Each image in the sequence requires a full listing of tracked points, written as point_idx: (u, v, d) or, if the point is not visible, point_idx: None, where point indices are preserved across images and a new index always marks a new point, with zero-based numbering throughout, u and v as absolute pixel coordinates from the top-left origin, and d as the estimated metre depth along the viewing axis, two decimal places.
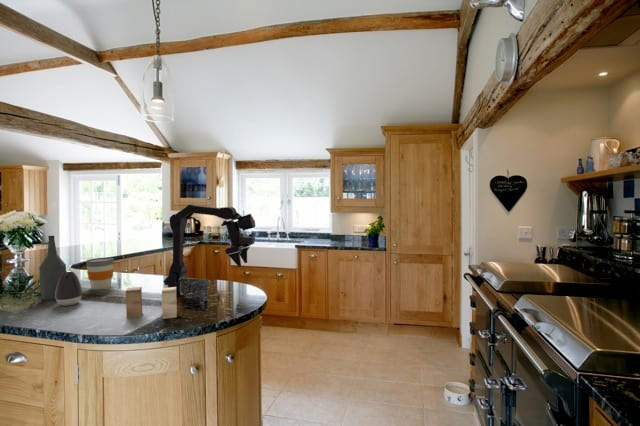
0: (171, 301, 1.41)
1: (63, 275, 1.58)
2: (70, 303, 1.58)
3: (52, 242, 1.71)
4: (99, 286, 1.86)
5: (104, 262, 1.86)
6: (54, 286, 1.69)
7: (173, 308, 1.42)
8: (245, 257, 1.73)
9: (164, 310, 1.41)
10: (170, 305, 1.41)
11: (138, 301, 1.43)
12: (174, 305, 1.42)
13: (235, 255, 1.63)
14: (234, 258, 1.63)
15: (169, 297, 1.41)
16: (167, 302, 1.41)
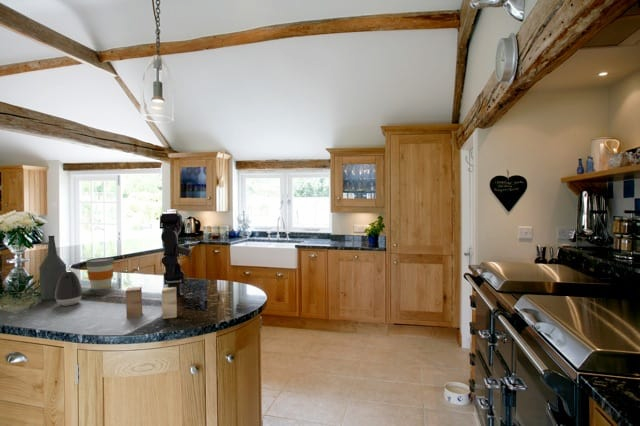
0: (171, 301, 1.41)
1: (63, 275, 1.58)
2: (70, 303, 1.58)
3: (52, 242, 1.71)
4: (99, 286, 1.86)
5: (104, 262, 1.86)
6: (54, 286, 1.69)
7: (173, 308, 1.42)
8: None
9: (164, 310, 1.41)
10: (170, 305, 1.41)
11: (138, 301, 1.43)
12: (174, 305, 1.42)
13: (170, 264, 1.54)
14: (168, 267, 1.54)
15: (169, 297, 1.41)
16: (167, 302, 1.41)
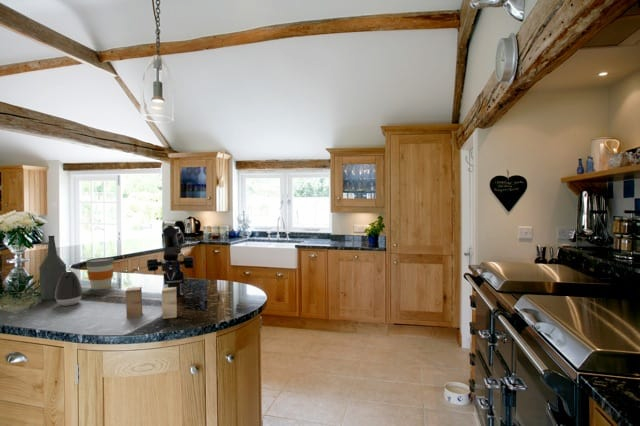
0: (171, 301, 1.41)
1: (63, 275, 1.58)
2: (70, 303, 1.58)
3: (52, 242, 1.71)
4: (99, 286, 1.86)
5: (104, 262, 1.86)
6: (54, 286, 1.69)
7: (173, 308, 1.42)
8: (171, 274, 1.54)
9: (164, 310, 1.41)
10: (170, 305, 1.41)
11: (138, 301, 1.43)
12: (174, 305, 1.42)
13: None
14: (167, 272, 1.55)
15: (169, 297, 1.41)
16: (167, 302, 1.41)
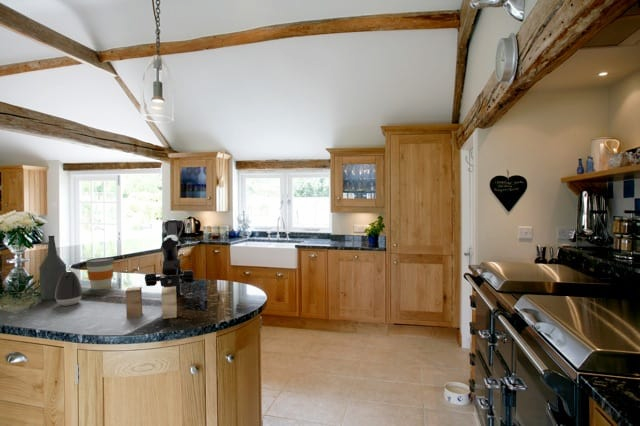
0: (171, 302, 1.40)
1: (63, 275, 1.58)
2: (70, 303, 1.58)
3: (52, 242, 1.71)
4: (99, 286, 1.86)
5: (104, 262, 1.86)
6: (54, 286, 1.69)
7: (173, 309, 1.41)
8: None
9: (164, 311, 1.40)
10: (170, 306, 1.40)
11: (138, 301, 1.43)
12: (174, 306, 1.41)
13: None
14: None
15: (169, 298, 1.40)
16: (167, 303, 1.40)
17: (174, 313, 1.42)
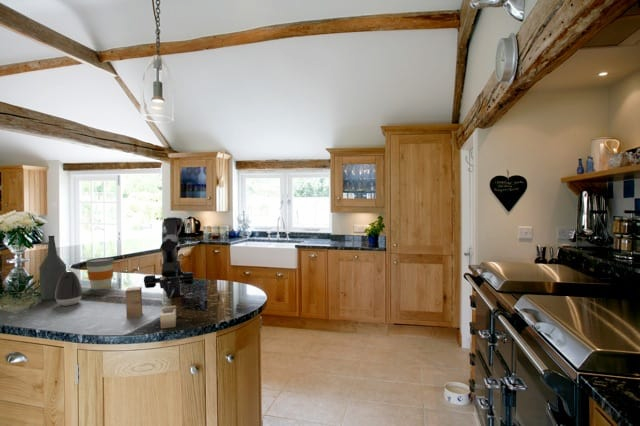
0: None
1: (63, 275, 1.58)
2: (70, 303, 1.58)
3: (52, 242, 1.71)
4: (99, 286, 1.86)
5: (104, 262, 1.86)
6: (54, 286, 1.69)
7: None
8: (169, 291, 1.43)
9: None
10: None
11: (138, 301, 1.43)
12: None
13: None
14: (165, 290, 1.45)
15: None
16: None
17: None
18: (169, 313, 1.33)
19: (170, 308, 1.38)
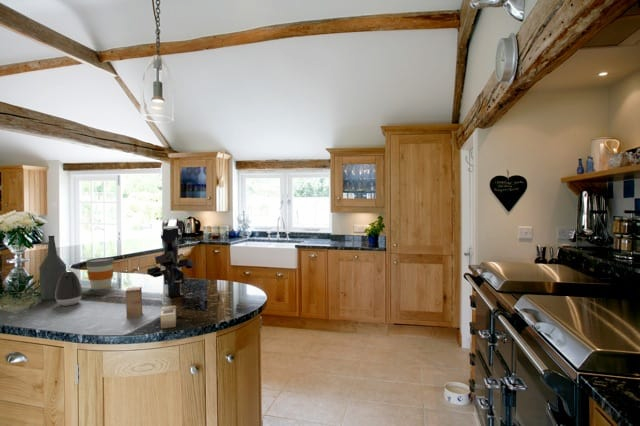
0: None
1: (63, 275, 1.58)
2: (70, 303, 1.58)
3: (52, 242, 1.71)
4: (99, 286, 1.86)
5: (104, 262, 1.86)
6: (54, 286, 1.69)
7: None
8: None
9: None
10: None
11: (138, 301, 1.43)
12: None
13: None
14: None
15: None
16: None
17: None
18: (169, 313, 1.33)
19: (170, 308, 1.38)
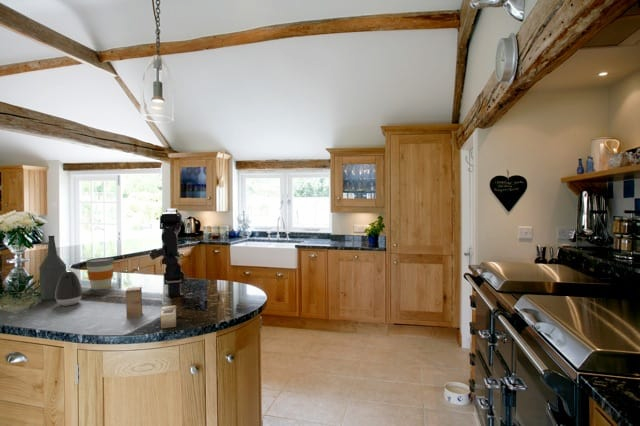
0: None
1: (63, 275, 1.58)
2: (70, 303, 1.58)
3: (52, 242, 1.71)
4: (99, 286, 1.86)
5: (104, 262, 1.86)
6: (54, 286, 1.69)
7: None
8: None
9: None
10: None
11: (138, 301, 1.43)
12: None
13: None
14: None
15: None
16: None
17: None
18: (169, 313, 1.33)
19: (170, 308, 1.38)
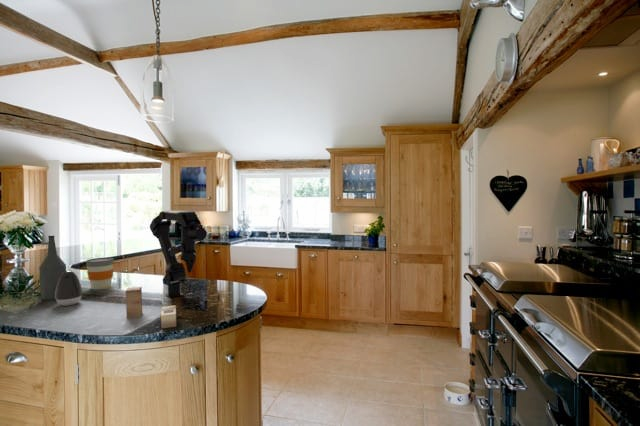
0: None
1: (63, 275, 1.58)
2: (70, 303, 1.58)
3: (52, 242, 1.71)
4: (99, 286, 1.86)
5: (104, 262, 1.86)
6: (54, 286, 1.69)
7: None
8: None
9: None
10: None
11: (138, 301, 1.43)
12: None
13: None
14: None
15: None
16: None
17: None
18: (169, 313, 1.33)
19: (170, 308, 1.38)
